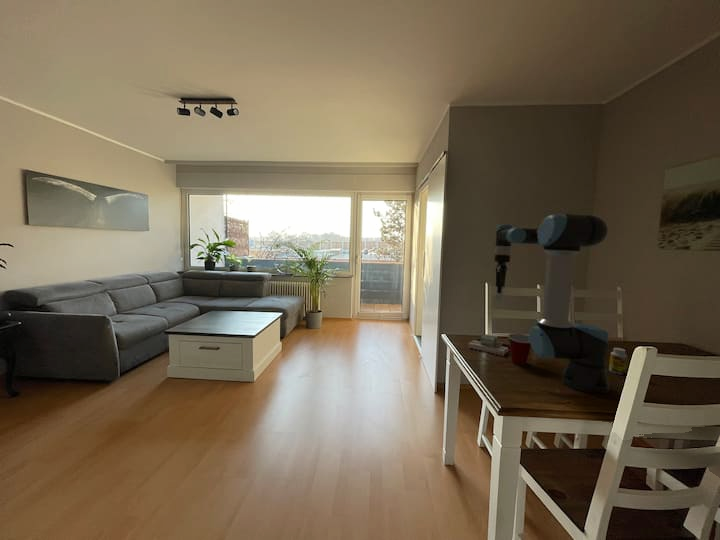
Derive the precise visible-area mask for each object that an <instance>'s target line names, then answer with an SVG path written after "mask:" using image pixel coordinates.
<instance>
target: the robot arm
mask: <svg viewBox="0 0 720 540" xmlns="http://www.w3.org/2000/svg"><path fill="white" fill-rule="evenodd" d="M608 230H609V229H608V226H607V223H606V222H605V221H604V220H603V219H602V218H600V217H598V216H596V215H589V214H572V213H571V214H569V213H557V214H555V213H553V214H549V215H548V216H546V217H545V218H544V219H543V220H542V221H541V223H540V225H539V226H538V228H529V227H527V228H525V227H524V228H523V227H516V226H515V227H513V224H498V225H497V226H496V231H495V234H496V235H495V247H494V262H496V263H497V265H496V268H495V287H496V295H495V296H496V297H495V299H496V300H503V296H504V288H505V287H506V285H505V284H506V275H507V271H508V267H507V263H510V262H511V253H512V244H516V245H517V244H521V245H523V244H527V245H541V246H542V247H543V252H544V253H545V254H546V255H547V256H546V258H547V259H546V266H545V267H546V269H545V279H544V290H543V300H542V301H543V303H542V315H541V317H540V318H539V319H537V320H536V325H534V326H532V327H531V328H530V330H529V332H528V336H529V340H530V344H531V348H532V351H533V352H534V354H535V355H536V356H538V357H540V358H544V359H551V360H552V359H565V360H566V359H568V361H567V364H566V366H565V368H564V369H563V371H562V373H561V382H562V383H563V384H564V385H566V386H568V387H569V388H571V389H575V390H578V391H580V392H583V393H584V392H585V393H591V394H595V393H596V394H598V393H605V394H608V393H609V392H610V382H609V378H608V375H607V371H606V366H607V365H606V364H607V358H608V348H609V343H610V341H609V333H608V331H606V330H605V329H602V328H600V327H597V326H595V325H594V326H593V325H588V324H585V323H579V322H573V323H571V322H570V320H569V318H570V308H571V298H572V297H571V295H572V288H573V287H572V285H573V277H574V275H573V274H574V267H575V256H576V255H578V254H580V252H581V248H584V247H585V248H586V247H588V248H589V247H593V246H597V245H599V244H601V243H602V242H603V241H605V239H606V238H607V235H608ZM607 392H608V393H607Z"/></svg>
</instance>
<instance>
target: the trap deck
mask: <svg viewBox="0 0 720 540" xmlns="http://www.w3.org/2000/svg"><path fill="white" fill-rule="evenodd" d="M482 336H483V334H481V335H479V336H478V337H477V338H476V340H472V341H469V343H468V349H470V348H473V349H472V350H475V349H477V350H476V351H479V350H481V351H480V352H483V351H485V352H484V353H488V352H489V353H488V354H492V353H493V355H496V354H497V355H496V356H500V355H501V357H505V356H506V355H507V354H508V353H509V352H511V350H510V342H509V339H502V338H499V337H497V345H495V346H494V347H488V346H484V345H481V337H482ZM508 351H509V352H508ZM507 352H508V353H507ZM506 353H507V354H506ZM505 354H506V355H505ZM504 355H505V356H504Z"/></svg>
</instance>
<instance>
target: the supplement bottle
mask: <svg viewBox="0 0 720 540" xmlns="http://www.w3.org/2000/svg"><path fill="white" fill-rule="evenodd" d="M627 362H628V355H627V354H626V349H624V348H620V347H613V351H611V352H610V357H609V365H608V370H609V371H610V372H611V373H612V374H613V373H614V374H616V373H617V375H624V374H623V373H625V374H626V370H627Z"/></svg>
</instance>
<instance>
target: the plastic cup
mask: <svg viewBox="0 0 720 540" xmlns="http://www.w3.org/2000/svg"><path fill="white" fill-rule="evenodd" d="M507 338H508V341H509V342H510V355H511V356H510V357H511V362H512V363H513V364H516V365H519V366H520V365H522V366H525V365H526V364H527V362H528V357H529V355H530V351H531V348H532V347H531V344H530V340H529V334H527V335H526V334H523V333H509V334H508V335H507ZM524 364H525V365H524Z"/></svg>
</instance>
